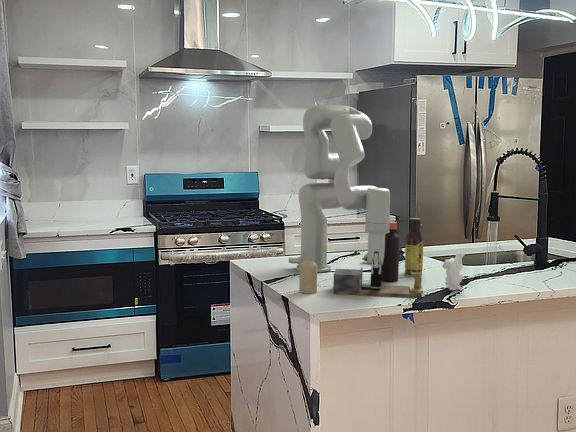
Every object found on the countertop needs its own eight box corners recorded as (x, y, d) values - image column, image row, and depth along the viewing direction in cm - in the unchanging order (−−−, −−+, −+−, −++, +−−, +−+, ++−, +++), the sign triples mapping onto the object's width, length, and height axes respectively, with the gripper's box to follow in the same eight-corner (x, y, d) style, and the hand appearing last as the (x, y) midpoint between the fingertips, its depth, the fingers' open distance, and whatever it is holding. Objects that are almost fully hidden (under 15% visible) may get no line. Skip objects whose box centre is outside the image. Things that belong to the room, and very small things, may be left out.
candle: (298, 289, 214) (298, 258, 213) (315, 289, 214) (316, 258, 213) (300, 294, 208) (300, 262, 207) (317, 293, 209) (318, 262, 208)
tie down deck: (333, 294, 209) (333, 273, 208) (335, 286, 220) (336, 266, 219) (423, 297, 205) (424, 276, 204) (421, 289, 216) (422, 269, 215)
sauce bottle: (422, 275, 237) (424, 219, 235) (404, 274, 238) (406, 219, 236) (422, 272, 244) (424, 217, 241) (404, 271, 245) (406, 217, 242)
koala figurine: (457, 286, 222) (458, 250, 220) (471, 290, 216) (473, 253, 214) (436, 288, 218) (438, 251, 216) (450, 292, 212) (452, 255, 210)
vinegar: (385, 283, 225) (387, 223, 222) (374, 279, 231) (375, 221, 228) (402, 281, 228) (404, 222, 226) (390, 277, 234) (392, 220, 232)
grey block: (337, 287, 212) (337, 264, 211) (338, 284, 216) (338, 262, 215) (380, 289, 210) (381, 266, 209) (380, 286, 214) (381, 263, 213)
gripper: (365, 223, 219) (364, 279, 221) (364, 231, 202) (362, 290, 204) (389, 224, 218) (387, 280, 220) (389, 231, 201) (387, 291, 203)
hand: (375, 284), depth 212 cm, fingers closed on grey block, 4 cm apart
